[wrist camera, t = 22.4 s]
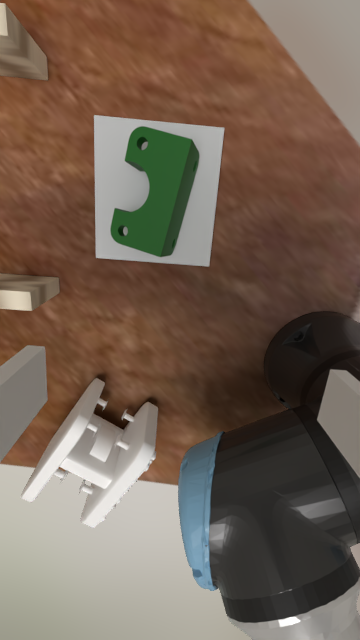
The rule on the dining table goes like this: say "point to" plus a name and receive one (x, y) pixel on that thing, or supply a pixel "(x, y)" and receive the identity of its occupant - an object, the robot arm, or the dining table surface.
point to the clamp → (158, 191)
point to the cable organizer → (98, 454)
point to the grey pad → (133, 188)
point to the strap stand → (29, 62)
